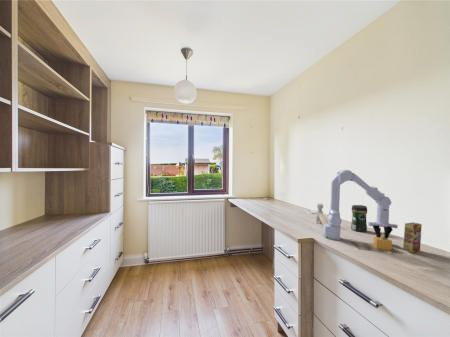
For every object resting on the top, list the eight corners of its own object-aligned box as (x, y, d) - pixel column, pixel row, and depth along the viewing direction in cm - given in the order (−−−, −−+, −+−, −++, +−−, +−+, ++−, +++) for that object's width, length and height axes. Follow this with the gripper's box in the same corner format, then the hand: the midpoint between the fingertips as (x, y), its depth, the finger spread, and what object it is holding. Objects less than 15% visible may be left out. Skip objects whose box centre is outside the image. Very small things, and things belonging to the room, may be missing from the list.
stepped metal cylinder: (379, 245, 124) (380, 233, 124) (377, 243, 127) (377, 231, 127) (386, 246, 123) (386, 234, 123) (383, 244, 127) (384, 232, 127)
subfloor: (360, 253, 111) (360, 251, 111) (348, 241, 129) (348, 239, 129) (405, 258, 106) (405, 256, 106) (386, 245, 124) (386, 243, 124)
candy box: (412, 253, 113) (413, 225, 113) (402, 250, 117) (403, 223, 117) (421, 251, 117) (422, 223, 117) (411, 248, 121) (412, 221, 121)
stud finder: (376, 248, 116) (377, 239, 116) (373, 245, 119) (373, 236, 119) (391, 250, 114) (391, 240, 114) (387, 247, 118) (388, 238, 118)
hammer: (334, 220, 143) (322, 203, 172) (326, 219, 144) (316, 203, 173) (331, 241, 147) (320, 221, 175) (324, 240, 148) (314, 220, 176)
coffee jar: (361, 229, 159) (362, 204, 159) (368, 232, 151) (369, 206, 151) (348, 228, 159) (349, 204, 159) (355, 231, 151) (356, 205, 151)
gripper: (371, 216, 123) (371, 239, 123) (400, 218, 120) (400, 242, 120) (366, 214, 130) (366, 236, 130) (394, 216, 127) (393, 238, 127)
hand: (381, 239), depth 125 cm, fingers closed on stepped metal cylinder, 3 cm apart
